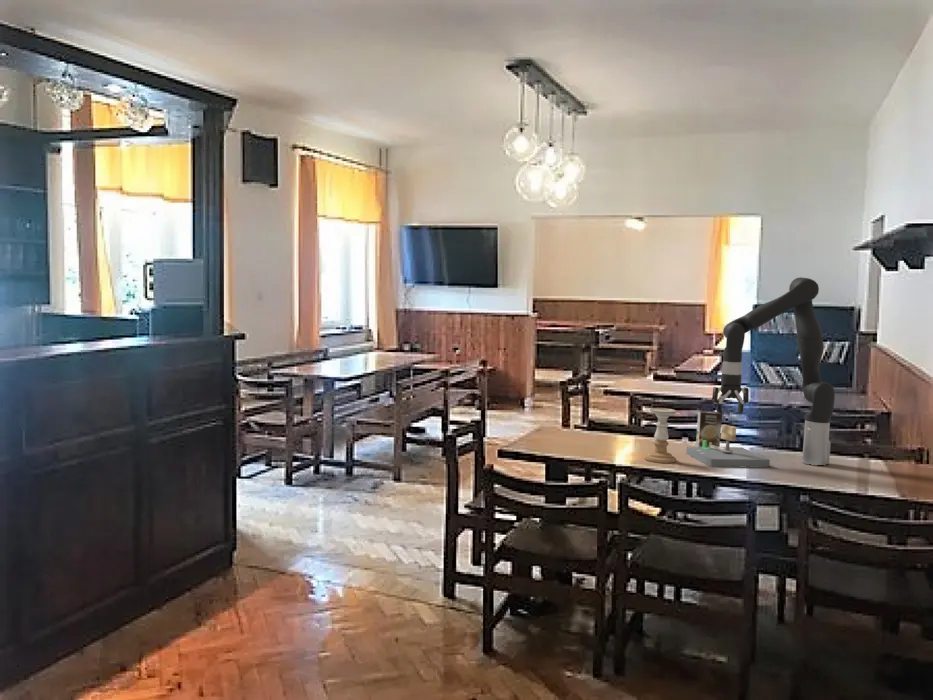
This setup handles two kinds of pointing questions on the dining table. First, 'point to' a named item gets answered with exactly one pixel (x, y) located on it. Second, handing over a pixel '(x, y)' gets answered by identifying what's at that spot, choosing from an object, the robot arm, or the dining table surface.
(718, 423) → the coffee box
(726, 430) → the tuning key
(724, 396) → the robot arm
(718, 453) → the board
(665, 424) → the candle holder
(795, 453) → the dining table surface
